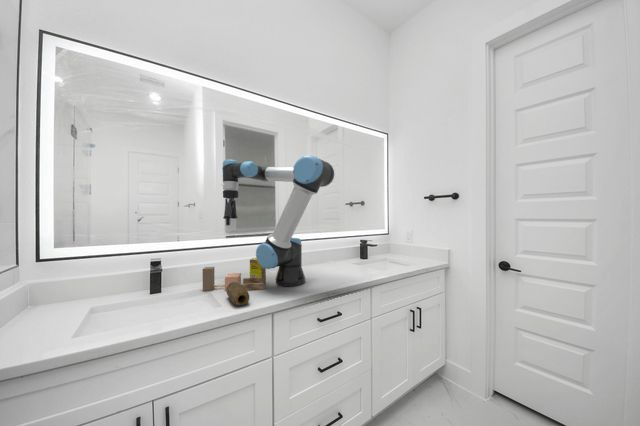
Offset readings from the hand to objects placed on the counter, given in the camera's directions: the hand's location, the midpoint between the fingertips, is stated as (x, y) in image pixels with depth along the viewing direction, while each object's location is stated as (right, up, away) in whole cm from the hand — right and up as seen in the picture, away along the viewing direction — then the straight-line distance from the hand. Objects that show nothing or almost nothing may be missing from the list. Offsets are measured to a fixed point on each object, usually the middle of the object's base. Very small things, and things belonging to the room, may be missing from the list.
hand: (231, 231), depth 123 cm
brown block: (0, -26, -10) cm, 28 cm away
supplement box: (+11, -27, +8) cm, 30 cm away
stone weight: (+13, -27, -27) cm, 40 cm away
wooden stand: (+14, -26, -8) cm, 31 cm away
